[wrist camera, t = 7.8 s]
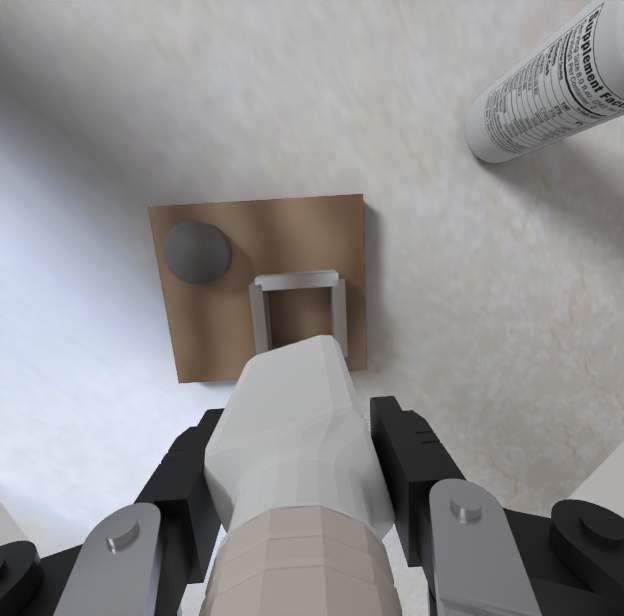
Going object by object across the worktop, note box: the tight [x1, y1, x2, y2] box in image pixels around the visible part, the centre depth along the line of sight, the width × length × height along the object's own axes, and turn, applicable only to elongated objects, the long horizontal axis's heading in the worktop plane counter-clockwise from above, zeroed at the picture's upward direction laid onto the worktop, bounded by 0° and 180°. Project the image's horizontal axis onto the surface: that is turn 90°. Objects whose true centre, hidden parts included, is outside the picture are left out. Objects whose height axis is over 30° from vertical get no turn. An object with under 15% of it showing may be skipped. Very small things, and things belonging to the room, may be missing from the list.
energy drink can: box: [465, 0, 624, 163], centre depth 19 cm, size 6×6×15 cm
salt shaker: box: [199, 335, 402, 616], centre depth 8 cm, size 4×4×10 cm
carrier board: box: [148, 194, 367, 383], centre depth 26 cm, size 18×16×5 cm
